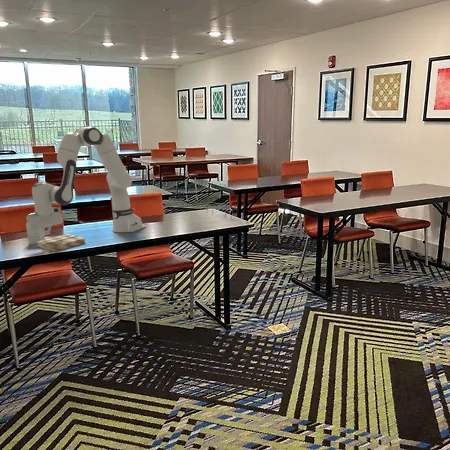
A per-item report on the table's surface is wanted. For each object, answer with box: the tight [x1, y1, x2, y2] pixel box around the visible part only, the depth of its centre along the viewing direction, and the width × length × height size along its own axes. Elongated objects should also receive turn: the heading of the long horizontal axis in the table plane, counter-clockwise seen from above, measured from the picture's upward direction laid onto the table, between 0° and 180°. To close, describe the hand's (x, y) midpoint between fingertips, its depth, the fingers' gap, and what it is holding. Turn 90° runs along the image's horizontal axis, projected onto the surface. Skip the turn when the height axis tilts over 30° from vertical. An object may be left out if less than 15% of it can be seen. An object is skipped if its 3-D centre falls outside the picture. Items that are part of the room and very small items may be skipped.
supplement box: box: [25, 223, 46, 245], centre depth 249 cm, size 7×7×13 cm
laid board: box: [45, 235, 86, 252], centre depth 240 cm, size 20×8×3 cm, turn 142°
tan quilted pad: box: [36, 233, 75, 250], centre depth 246 cm, size 20×9×3 cm, turn 142°
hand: (47, 234), depth 241 cm, fingers closed
